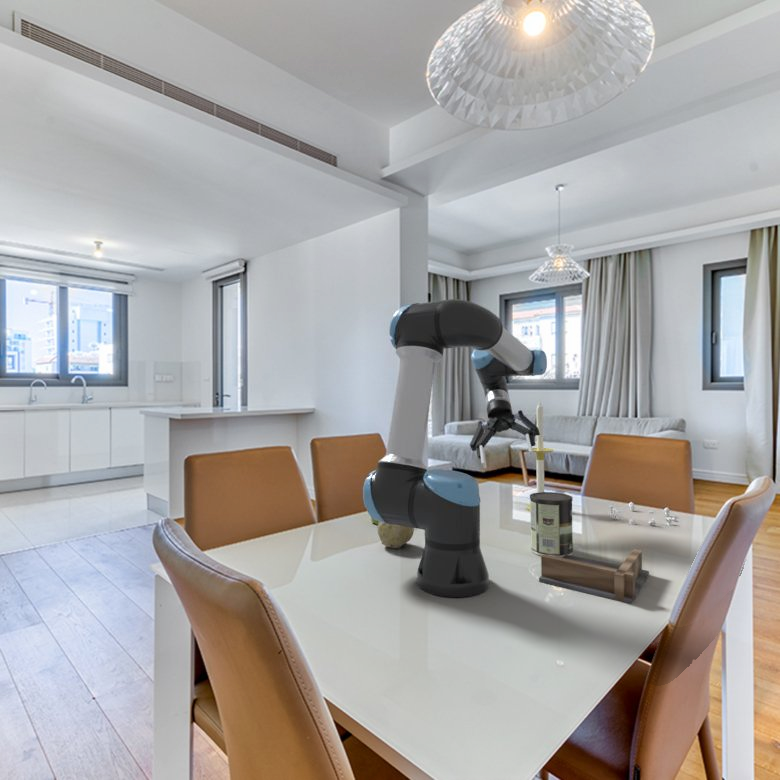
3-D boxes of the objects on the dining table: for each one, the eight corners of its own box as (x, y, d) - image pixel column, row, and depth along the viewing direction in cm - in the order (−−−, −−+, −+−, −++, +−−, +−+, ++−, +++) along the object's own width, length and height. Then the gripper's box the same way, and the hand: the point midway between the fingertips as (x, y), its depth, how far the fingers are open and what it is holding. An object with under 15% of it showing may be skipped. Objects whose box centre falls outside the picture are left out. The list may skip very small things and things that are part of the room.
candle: (523, 505, 171) (522, 399, 171) (552, 505, 170) (551, 399, 170) (527, 512, 161) (526, 400, 161) (558, 512, 160) (557, 399, 160)
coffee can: (564, 544, 127) (564, 491, 127) (579, 558, 117) (579, 500, 117) (525, 545, 127) (525, 491, 127) (536, 558, 117) (536, 500, 117)
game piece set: (608, 509, 166) (608, 498, 166) (675, 515, 157) (675, 503, 157) (606, 523, 148) (606, 510, 148) (681, 530, 139) (681, 517, 139)
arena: (631, 603, 92) (631, 577, 92) (539, 581, 103) (538, 558, 103) (649, 574, 106) (648, 551, 106) (566, 557, 117) (566, 537, 117)
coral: (423, 516, 131) (406, 508, 123) (413, 554, 128) (396, 549, 120) (393, 509, 136) (376, 501, 128) (383, 545, 133) (365, 540, 125)
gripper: (541, 404, 149) (555, 457, 133) (464, 425, 157) (469, 477, 141) (535, 388, 145) (549, 440, 129) (456, 409, 152) (460, 462, 137)
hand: (507, 460), depth 135 cm, fingers open, 13 cm apart
